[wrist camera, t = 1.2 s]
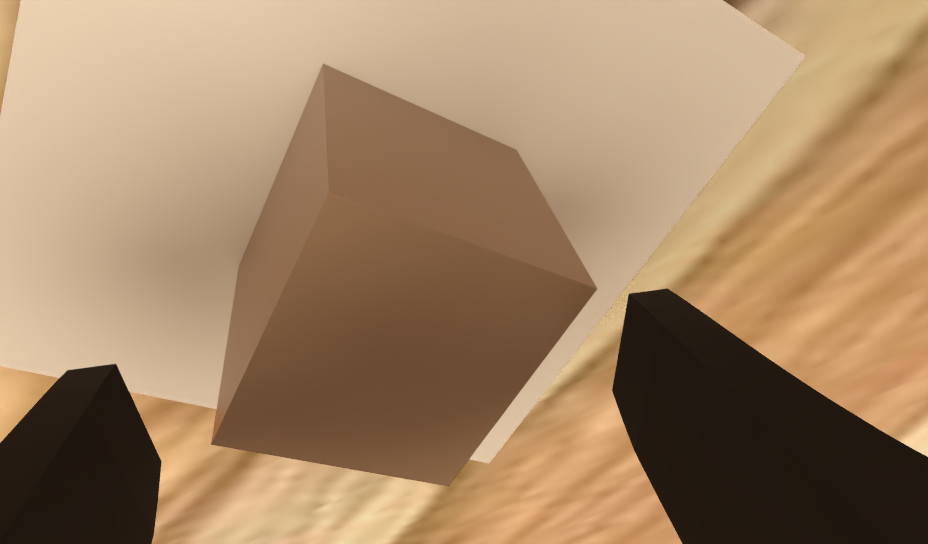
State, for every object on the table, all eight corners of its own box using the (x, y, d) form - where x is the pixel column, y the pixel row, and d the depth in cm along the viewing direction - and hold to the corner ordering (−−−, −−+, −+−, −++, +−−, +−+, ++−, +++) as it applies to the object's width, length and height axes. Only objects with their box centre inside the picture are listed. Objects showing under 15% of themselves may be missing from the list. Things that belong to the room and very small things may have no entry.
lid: (784, 45, 15) (1001, 158, 10) (483, 443, 21) (532, 625, 16) (110, -405, 9) (-107, -622, 4) (-28, 333, 15) (-176, 569, 10)
